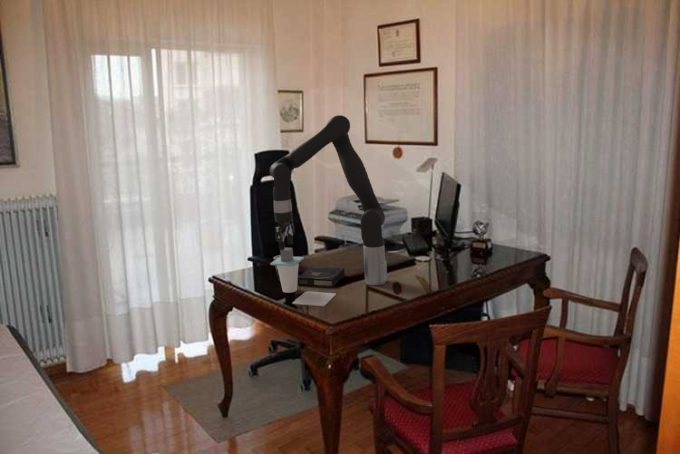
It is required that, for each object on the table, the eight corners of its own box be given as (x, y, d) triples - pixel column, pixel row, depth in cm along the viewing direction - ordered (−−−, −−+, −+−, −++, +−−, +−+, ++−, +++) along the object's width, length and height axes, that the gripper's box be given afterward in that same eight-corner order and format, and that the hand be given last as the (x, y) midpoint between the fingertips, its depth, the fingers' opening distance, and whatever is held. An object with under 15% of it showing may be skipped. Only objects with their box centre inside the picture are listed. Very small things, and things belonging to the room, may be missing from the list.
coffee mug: (290, 280, 261) (289, 259, 259) (273, 280, 263) (271, 259, 260) (297, 272, 272) (296, 252, 270) (280, 272, 274) (278, 252, 271)
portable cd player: (297, 286, 254) (296, 277, 253) (312, 274, 270) (311, 266, 269) (331, 288, 249) (331, 280, 248) (344, 276, 264) (344, 268, 263)
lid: (304, 258, 249) (303, 245, 247) (293, 266, 239) (292, 253, 237) (281, 257, 252) (280, 245, 251) (270, 265, 242) (269, 252, 241)
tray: (336, 294, 240) (336, 293, 240) (324, 306, 227) (324, 305, 227) (305, 292, 245) (305, 291, 245) (292, 303, 232) (292, 303, 232)
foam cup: (279, 287, 253) (277, 259, 250) (300, 285, 253) (298, 257, 250) (279, 294, 244) (276, 265, 240) (300, 293, 244) (298, 264, 241)
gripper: (283, 213, 232) (287, 252, 236) (297, 206, 245) (300, 243, 249) (267, 213, 235) (271, 251, 238) (282, 206, 248) (285, 242, 251)
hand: (286, 247), depth 244 cm, fingers open, 8 cm apart
